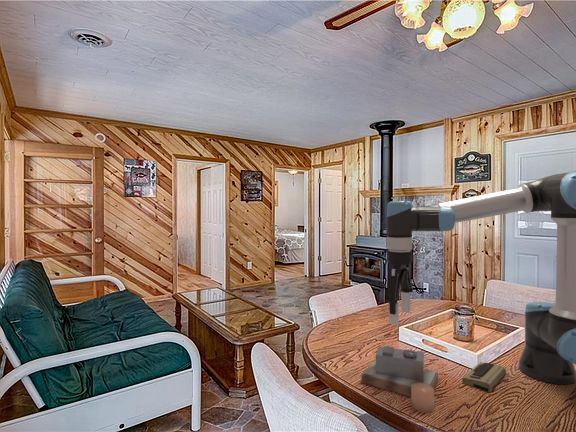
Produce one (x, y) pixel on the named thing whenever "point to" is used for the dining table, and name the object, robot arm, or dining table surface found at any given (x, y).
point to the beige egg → (422, 397)
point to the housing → (400, 363)
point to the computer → (484, 376)
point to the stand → (396, 380)
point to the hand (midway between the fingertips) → (400, 317)
